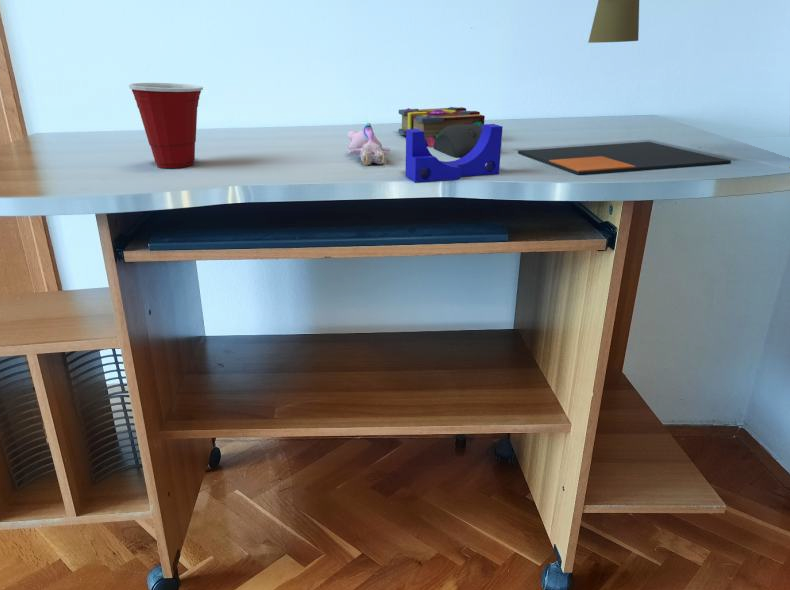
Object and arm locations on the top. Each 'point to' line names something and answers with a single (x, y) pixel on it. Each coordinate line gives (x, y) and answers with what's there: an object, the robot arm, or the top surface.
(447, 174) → the blue cradle bracket
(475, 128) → the computer mouse
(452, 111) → the decorative book
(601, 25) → the cork
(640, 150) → the desk mat
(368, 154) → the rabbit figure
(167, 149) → the plastic cup
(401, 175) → the top surface
